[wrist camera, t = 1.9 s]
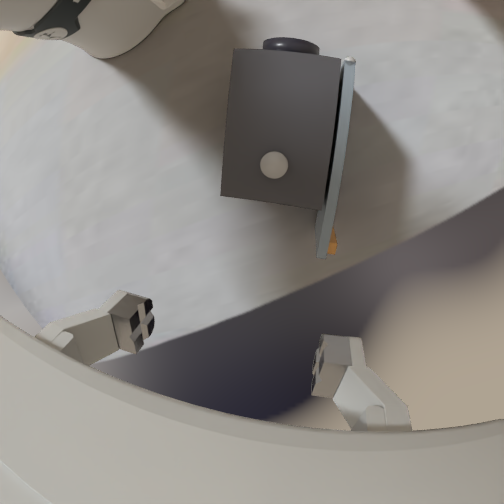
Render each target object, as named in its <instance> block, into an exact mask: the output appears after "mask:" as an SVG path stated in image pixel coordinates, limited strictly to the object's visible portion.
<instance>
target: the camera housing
mask: <svg viewBox="0 0 504 504" xmlns="http://www.w3.org/2000/svg"><path fill="white" fill-rule="evenodd" d="M340 67H341V59H339V58H334V57H328V56H321V55H319V47H318V46H317V45H315V44H313V43H311V42H308V41H305V40H301V39H295V38H285V37H279V38H271V39H267V40H265V41H264V42H263V50H262V49H234V52H233V60H232V69H231V78H230V88H229V98H228V108H227V119H226V130H225V142H224V154H223V167H222V180H221V195H220V196H226V197H234V198H242V199H249V200H256V201H263V202H270V203H277V204H283V205H290V206H296V207H302V208H308V209H314V210H320V211H322V206H323V200H324V194H325V188H326V181H327V175H328V169H329V162H330V155H331V148H332V140H333V133H334V125H335V117H336V108H337V99H338V89H339V79H340Z"/></svg>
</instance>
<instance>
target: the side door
mask: <svg viewBox="0 0 504 504" xmlns="http://www.w3.org/2000/svg"><path fill="white" fill-rule="evenodd" d="M355 63H356V61H355V59H354V58H353V57H351V56H348V57H346V58H345V60H344V62H343V64H342V66H341V68H340V79H339V89H338V99H337V108H336V117H335V125H334V133H333V140H332V148H331V155H330V162H329V169H328V175H327V181H326V188H325V194H324V200H323V206H322V211H320V210H318V213H317V219H316V224H315V239H316V258H321V259H326V256H327V253H328V254H334V255H335V252H336V248H337V240H336V236H335V232H334V228H333V222H334V217H335V212H336V207H337V201H338V196H339V190H340V184H341V178H342V172H343V166H344V160H345V153H346V146H347V139H348V131H349V123H350V115H351V106H352V97H353V87H354V76H355Z"/></svg>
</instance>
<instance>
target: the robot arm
mask: <svg viewBox="0 0 504 504" xmlns="http://www.w3.org/2000/svg"><path fill="white" fill-rule="evenodd" d="M184 1H185V0H0V30H4V31H13V33H14V34H16V35H19V36H26V37H33V38H36V39H42V40H63V41H66V42H68V43H71V44H73V45H75V46H77V47H79V48H81V49H83V50H84V51H86V52H87V53H88V54H89V55H91V56H93V57H96V58H111V57H115V56H118V55H120V54H122V53H125V52H126V51H128V50H130V49H131V48H133V47H134V46H136V45H137V44H138V43H140V42H141V41H142V40H143V39H144V38H145V37H146V36H147V35H148V34H149V33H150V32H151V31H152V30H153V29H154V28H155V27H156V25H157V24H158V23H159V21H160V20H161V19H162V18H163V17H164V16H165V15H166V14H167V13H169V12H171V11H172V10H174V9H175V8H177V7H178V6H180V5H181V4H182V3H183V2H184ZM152 308H153V304H152V300H151V299H150V298H146V297H143V296H139V295H136V294H132V293H129V292H125V291H122V290H119V291H117V292H116V293H115V294H114V295H112V296H111V297H110V298H109V299H108V300H107V301H106V302H105V303H104V304H103V305H102V306H101V307H100V308H99V309H92V310H89V311H86V312H82V313H79V314H76V315H73V316H70V317H66V318H63V319H60V320H57V321H53V322H50V323H49V324H48V325H47V326H46V327H45V328H43V329H42V330H41V331H40V332H39V333H38V334H37V335H36V336H35V337H33V336H31V335H30V334H28V333H26V332H25V331H23V330H22V329H20V328H18V327H17V326H15V325H14V324H12V323H10V322H9V321H8V320H6V319H5V318H3V317H2V316H0V504H504V419H498V420H493V421H488V422H483V423H477V424H471V425H466V426H458V427H450V428H441V429H430V430H417V431H412V427H411V421H410V416H409V411H408V407H407V405H406V404H405V403H404V402H403V401H402V400H401V399H400V398H399V397H398V396H397V395H396V394H395V393H394V392H393V391H392V390H391V389H390V388H389V387H388V386H387V385H386V384H385V383H384V381H383V380H382V379H381V378H380V377H379V376H378V375H377V374H376V373H375V372H374V371H373V370H372V369H371V368H368V367H366V361H365V355H364V349H363V344H362V339H361V338H358V337H345V336H337V335H329V334H322V335H321V338H320V341H319V349H317V350H316V353H315V357H314V361H313V369H312V373H313V375H314V378H313V380H312V391H311V395H314V396H321V397H328V398H333V400H334V402H335V404H336V405H337V407H338V408H339V410H340V412H341V413H342V415H343V416H344V418H345V420H346V421H347V423H348V424H349V426H350V428H351V431H346V430H330V429H320V428H310V427H301V426H293V425H286V424H280V423H273V422H267V421H262V420H256V419H251V418H246V417H241V416H237V415H232V414H228V413H223V412H219V411H215V410H211V409H207V408H204V407H200V406H196V405H193V404H189V403H186V402H183V401H179V400H176V399H173V398H169V397H166V396H163V395H161V394H158V393H155V392H152V391H149V390H146V389H143V388H141V387H138V386H135V385H133V384H130V383H127V382H125V381H122V380H120V379H117V378H115V377H113V376H110V375H108V374H106V373H103V372H101V371H99V370H97V369H94V368H92V367H90V366H89V365H91V364H93V363H95V362H97V361H99V360H101V359H102V358H104V357H106V356H108V355H110V354H112V353H114V352H116V351H118V350H119V349H122V350H125V351H128V352H131V353H134V354H137V353H138V352H139V350H140V349H141V347H142V346H143V345H144V342H143V340H144V339H146V338H148V337H149V336H150V335H151V333H152V331H153V328H154V322H155V321H154V316H153V314H152V313H151V309H152Z"/></svg>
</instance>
